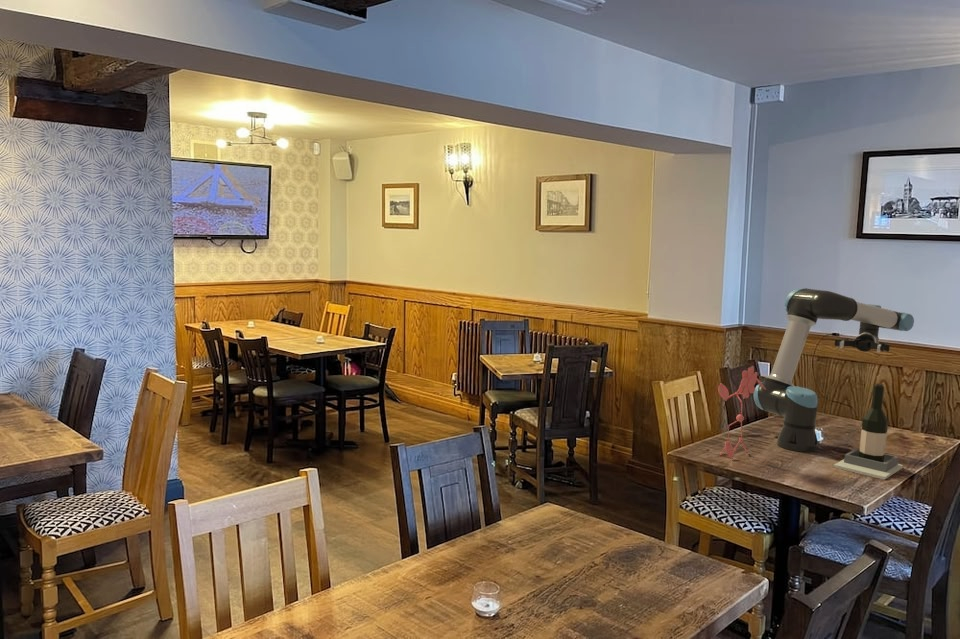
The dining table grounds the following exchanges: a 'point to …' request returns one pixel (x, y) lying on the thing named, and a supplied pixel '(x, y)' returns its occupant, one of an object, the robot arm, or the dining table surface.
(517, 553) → the dining table surface
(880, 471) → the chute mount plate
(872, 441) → the wine bottle
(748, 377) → the pink wire flower sculpture
